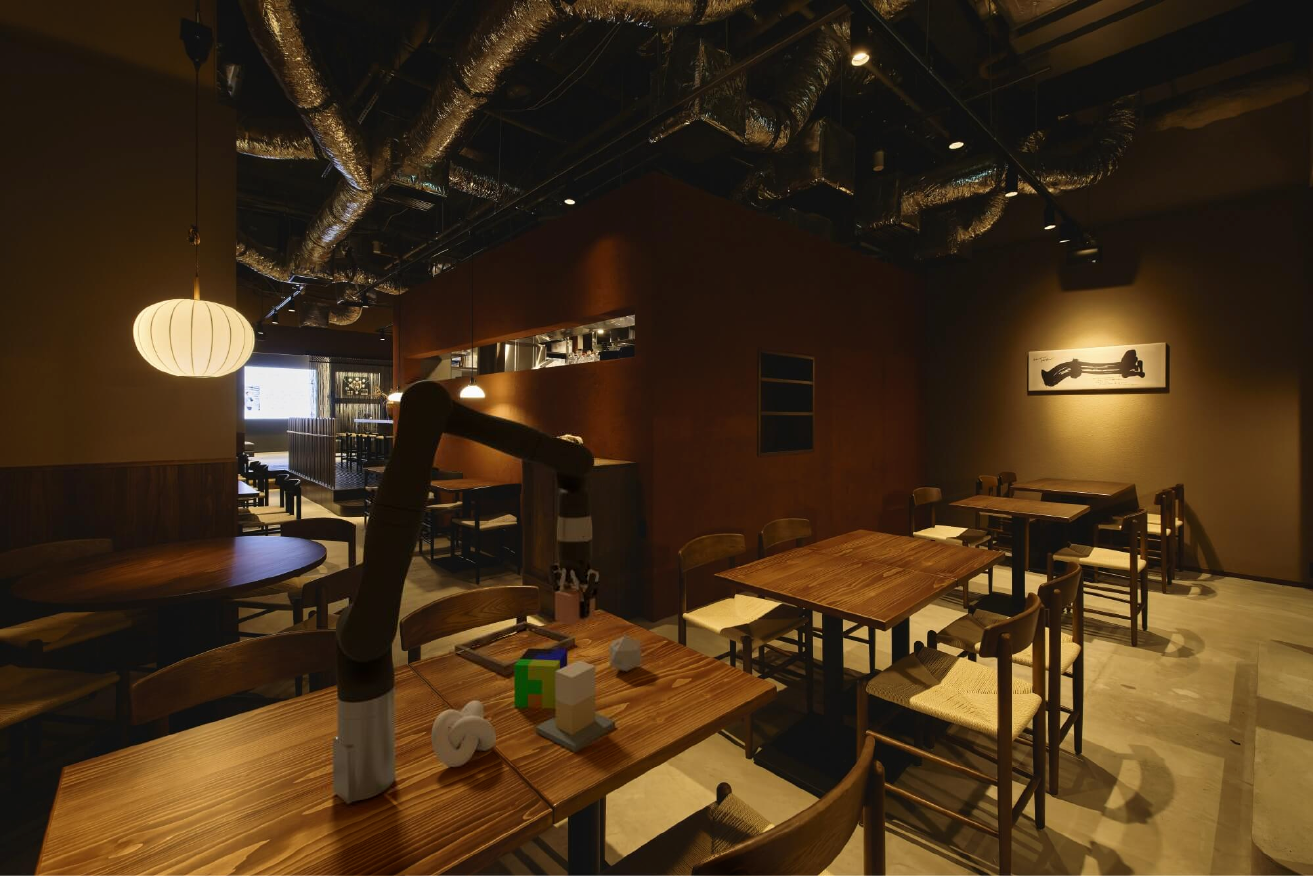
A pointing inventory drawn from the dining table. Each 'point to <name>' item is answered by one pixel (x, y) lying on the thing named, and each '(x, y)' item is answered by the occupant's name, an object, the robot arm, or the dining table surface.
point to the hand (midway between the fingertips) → (575, 614)
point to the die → (625, 653)
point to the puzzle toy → (538, 677)
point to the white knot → (461, 734)
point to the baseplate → (579, 737)
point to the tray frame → (493, 663)
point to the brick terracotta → (570, 606)
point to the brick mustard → (575, 715)
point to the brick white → (575, 682)
